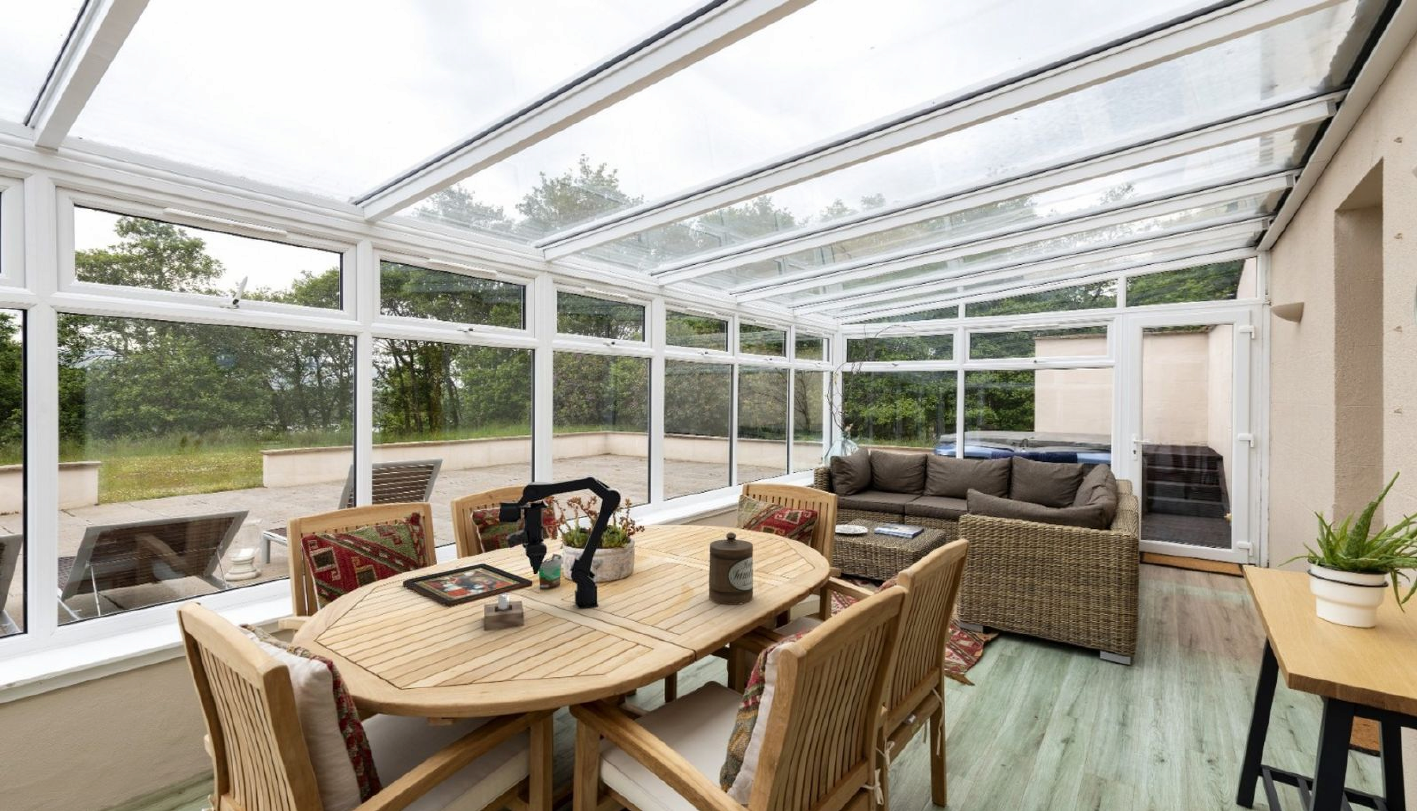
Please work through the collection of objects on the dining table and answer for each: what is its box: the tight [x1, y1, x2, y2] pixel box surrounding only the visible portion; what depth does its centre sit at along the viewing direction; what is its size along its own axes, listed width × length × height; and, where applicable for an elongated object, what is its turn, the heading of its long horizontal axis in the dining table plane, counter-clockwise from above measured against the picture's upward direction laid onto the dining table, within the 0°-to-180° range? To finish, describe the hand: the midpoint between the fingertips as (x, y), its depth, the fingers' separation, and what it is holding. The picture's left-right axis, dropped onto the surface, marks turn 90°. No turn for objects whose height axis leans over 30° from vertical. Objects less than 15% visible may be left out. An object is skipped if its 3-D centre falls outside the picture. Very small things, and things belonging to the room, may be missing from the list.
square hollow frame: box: [483, 600, 525, 631], centre depth 188 cm, size 11×11×4 cm
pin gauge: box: [497, 593, 510, 612], centre depth 188 cm, size 3×3×8 cm
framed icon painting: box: [402, 563, 533, 608], centre depth 224 cm, size 38×35×3 cm
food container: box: [538, 553, 564, 591], centre depth 224 cm, size 12×6×10 cm, turn 168°
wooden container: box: [708, 532, 754, 605], centre depth 211 cm, size 15×15×22 cm
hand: (534, 570), depth 201 cm, fingers open, 9 cm apart
